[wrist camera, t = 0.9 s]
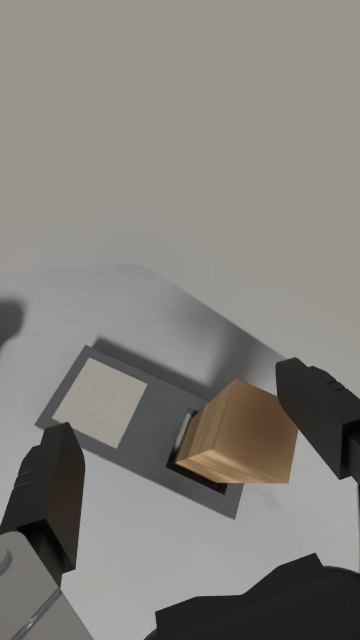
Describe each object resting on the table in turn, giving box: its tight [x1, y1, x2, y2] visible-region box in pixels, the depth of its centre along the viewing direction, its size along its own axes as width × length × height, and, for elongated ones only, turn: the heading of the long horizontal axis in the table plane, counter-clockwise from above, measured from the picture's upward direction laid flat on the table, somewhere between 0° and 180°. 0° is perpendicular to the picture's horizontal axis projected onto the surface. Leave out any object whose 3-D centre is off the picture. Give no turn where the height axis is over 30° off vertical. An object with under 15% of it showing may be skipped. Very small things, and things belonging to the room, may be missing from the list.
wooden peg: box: [172, 378, 298, 483], centre depth 22 cm, size 4×4×14 cm
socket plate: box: [35, 345, 244, 520], centre depth 27 cm, size 18×8×2 cm, turn 68°
